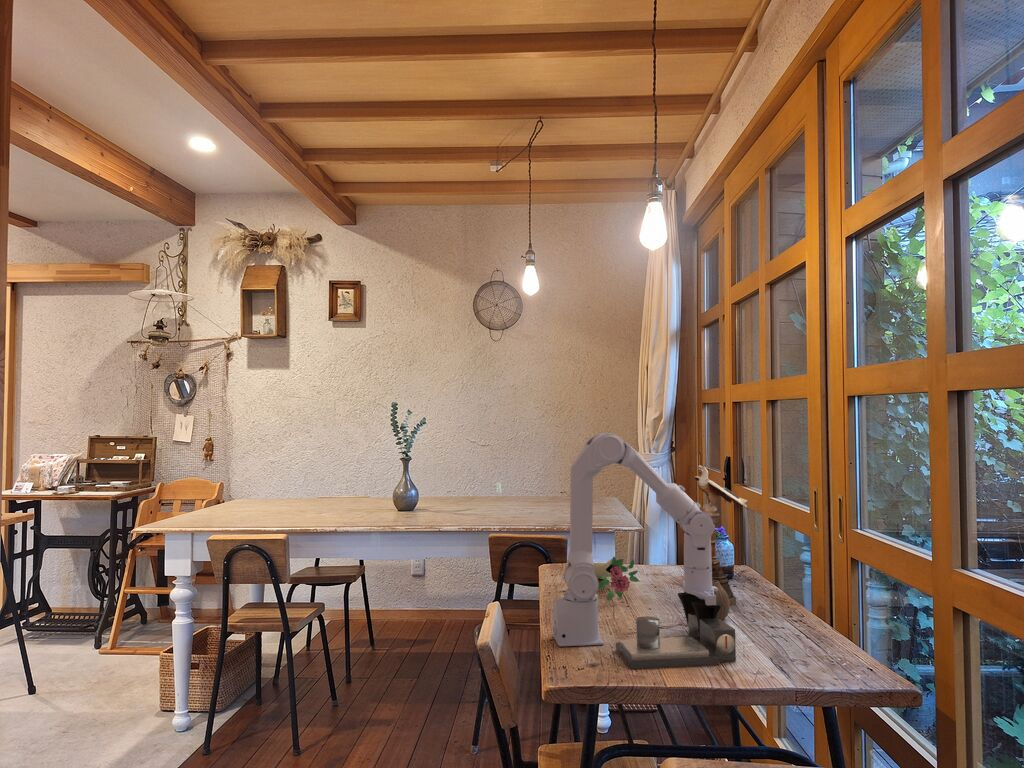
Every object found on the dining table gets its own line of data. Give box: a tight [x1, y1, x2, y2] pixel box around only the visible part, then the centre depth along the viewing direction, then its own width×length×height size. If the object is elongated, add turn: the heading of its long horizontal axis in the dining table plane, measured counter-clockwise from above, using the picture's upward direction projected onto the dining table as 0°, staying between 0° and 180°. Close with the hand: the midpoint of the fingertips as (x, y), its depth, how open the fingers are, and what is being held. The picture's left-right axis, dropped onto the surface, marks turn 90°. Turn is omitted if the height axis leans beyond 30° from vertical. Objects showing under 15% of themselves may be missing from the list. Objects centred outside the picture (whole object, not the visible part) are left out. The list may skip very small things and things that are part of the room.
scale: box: [615, 618, 737, 670], centre depth 141 cm, size 21×11×6 cm, turn 96°
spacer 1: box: [635, 615, 661, 649], centre depth 140 cm, size 4×4×5 cm
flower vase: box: [594, 556, 641, 601], centre depth 194 cm, size 12×12×35 cm
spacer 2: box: [687, 612, 700, 641], centre depth 153 cm, size 4×4×5 cm
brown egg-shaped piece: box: [712, 580, 731, 621], centre depth 168 cm, size 7×7×9 cm
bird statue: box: [693, 464, 749, 607], centre depth 185 cm, size 17×13×35 cm
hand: (699, 631), depth 153 cm, fingers open, 6 cm apart
